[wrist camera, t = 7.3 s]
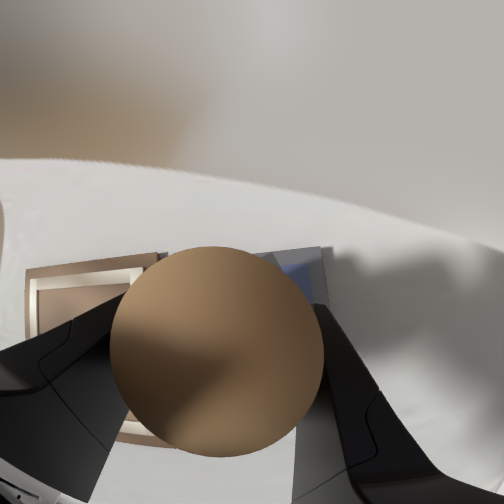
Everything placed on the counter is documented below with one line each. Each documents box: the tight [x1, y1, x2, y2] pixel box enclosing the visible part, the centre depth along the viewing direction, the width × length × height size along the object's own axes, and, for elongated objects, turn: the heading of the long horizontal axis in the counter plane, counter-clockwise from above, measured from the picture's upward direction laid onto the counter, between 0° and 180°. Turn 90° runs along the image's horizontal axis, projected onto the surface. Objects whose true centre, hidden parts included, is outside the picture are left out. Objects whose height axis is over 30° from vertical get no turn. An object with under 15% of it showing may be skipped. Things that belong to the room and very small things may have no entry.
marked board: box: [25, 252, 176, 449], centre depth 17 cm, size 14×14×1 cm
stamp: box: [110, 246, 324, 457], centre depth 9 cm, size 6×6×10 cm
